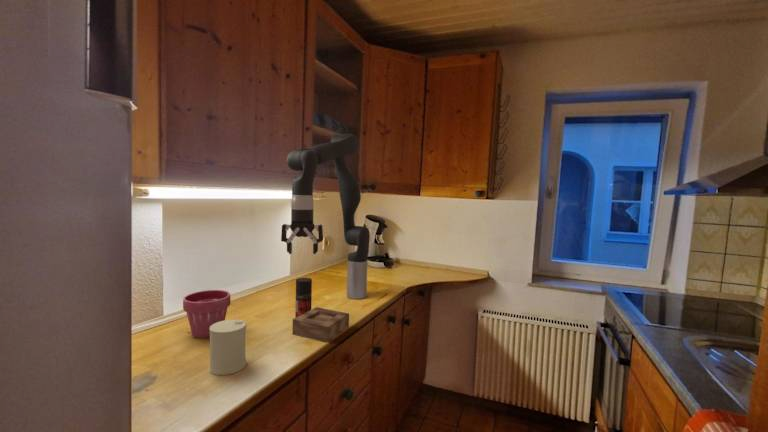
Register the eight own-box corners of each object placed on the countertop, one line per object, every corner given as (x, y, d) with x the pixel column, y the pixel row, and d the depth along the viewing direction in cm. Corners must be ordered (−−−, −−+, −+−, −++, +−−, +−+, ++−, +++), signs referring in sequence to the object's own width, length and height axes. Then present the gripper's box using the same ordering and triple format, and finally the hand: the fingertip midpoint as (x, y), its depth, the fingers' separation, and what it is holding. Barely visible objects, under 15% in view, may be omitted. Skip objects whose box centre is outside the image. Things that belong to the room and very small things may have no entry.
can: (252, 366, 94) (252, 324, 93) (217, 379, 87) (217, 333, 86) (236, 355, 100) (237, 315, 99) (203, 366, 93) (203, 323, 92)
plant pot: (173, 335, 111) (172, 297, 111) (210, 321, 124) (210, 287, 123) (203, 345, 106) (203, 304, 105) (239, 329, 118) (239, 293, 118)
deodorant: (292, 318, 130) (292, 280, 129) (302, 314, 135) (303, 276, 134) (304, 321, 127) (304, 282, 126) (314, 317, 132) (315, 279, 131)
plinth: (316, 320, 128) (316, 307, 128) (348, 327, 123) (349, 313, 123) (292, 334, 116) (292, 319, 115) (327, 342, 110) (327, 326, 110)
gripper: (324, 207, 123) (323, 251, 125) (284, 207, 122) (284, 251, 124) (321, 209, 116) (321, 255, 117) (279, 208, 115) (279, 255, 116)
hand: (302, 253), depth 120 cm, fingers open, 8 cm apart
